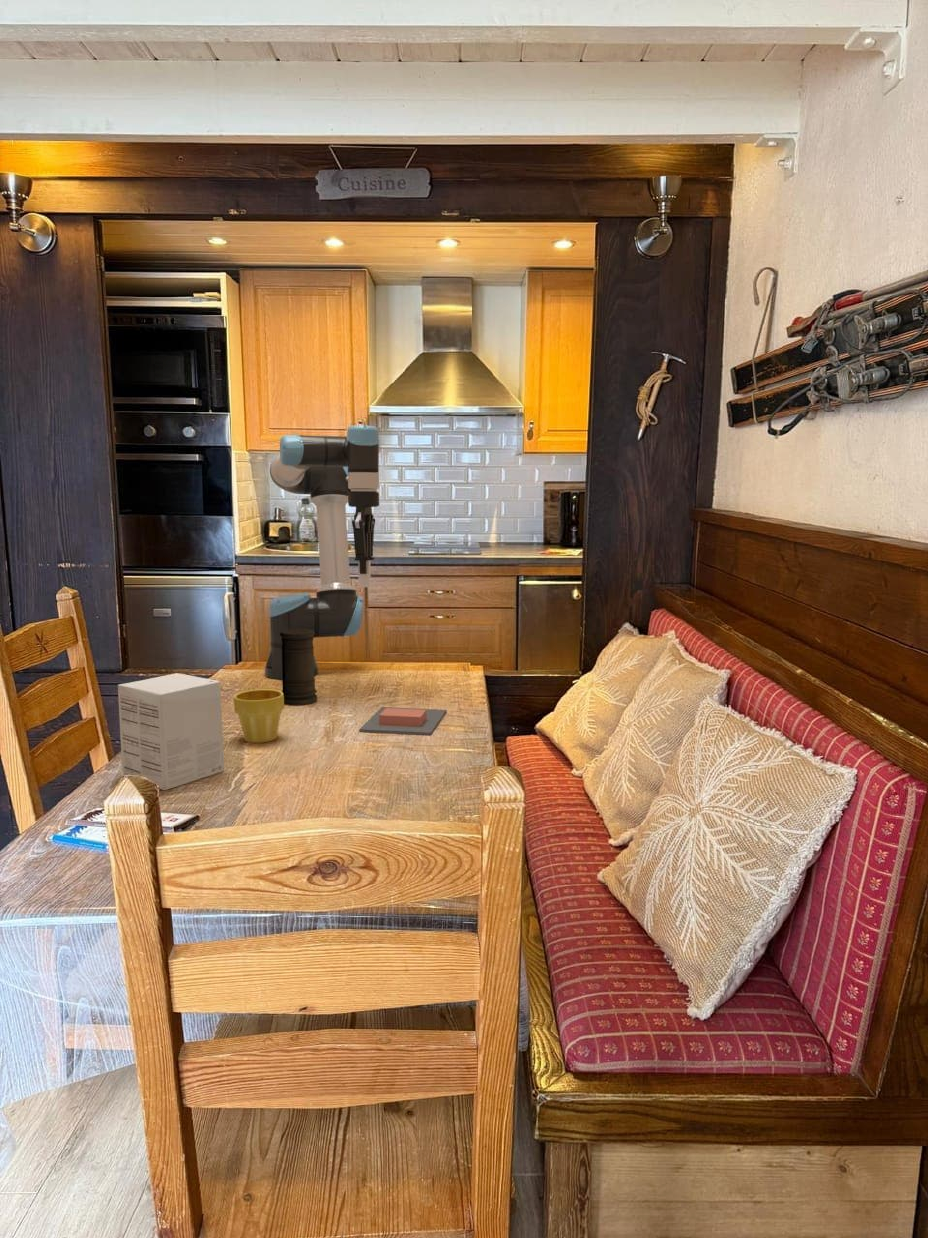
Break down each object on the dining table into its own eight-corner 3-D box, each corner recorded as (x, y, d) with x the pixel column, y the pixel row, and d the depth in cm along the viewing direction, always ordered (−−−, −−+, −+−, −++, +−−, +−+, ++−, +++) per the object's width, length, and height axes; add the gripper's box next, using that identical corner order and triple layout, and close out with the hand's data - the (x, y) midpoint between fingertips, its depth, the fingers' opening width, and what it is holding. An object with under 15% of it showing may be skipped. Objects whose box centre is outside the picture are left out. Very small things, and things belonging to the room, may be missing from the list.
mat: (381, 709, 204) (381, 707, 203) (446, 712, 201) (446, 709, 201) (359, 731, 184) (359, 729, 184) (430, 735, 182) (430, 732, 181)
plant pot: (229, 745, 173) (227, 699, 172) (242, 732, 184) (241, 688, 182) (278, 746, 173) (277, 700, 172) (289, 732, 184) (288, 688, 182)
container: (321, 697, 215) (319, 628, 213) (311, 706, 206) (309, 634, 204) (287, 696, 216) (285, 628, 214) (276, 705, 207) (274, 633, 205)
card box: (386, 708, 194) (378, 715, 187) (426, 709, 192) (420, 717, 186) (386, 717, 194) (379, 724, 188) (426, 719, 192) (420, 726, 186)
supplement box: (181, 759, 165) (177, 672, 162) (225, 771, 157) (222, 680, 155) (120, 777, 154) (115, 684, 151) (164, 791, 146) (159, 694, 144)
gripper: (356, 490, 210) (357, 583, 214) (340, 490, 198) (342, 589, 201) (385, 490, 209) (385, 584, 213) (371, 490, 197) (372, 590, 200)
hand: (364, 586), depth 207 cm, fingers closed
